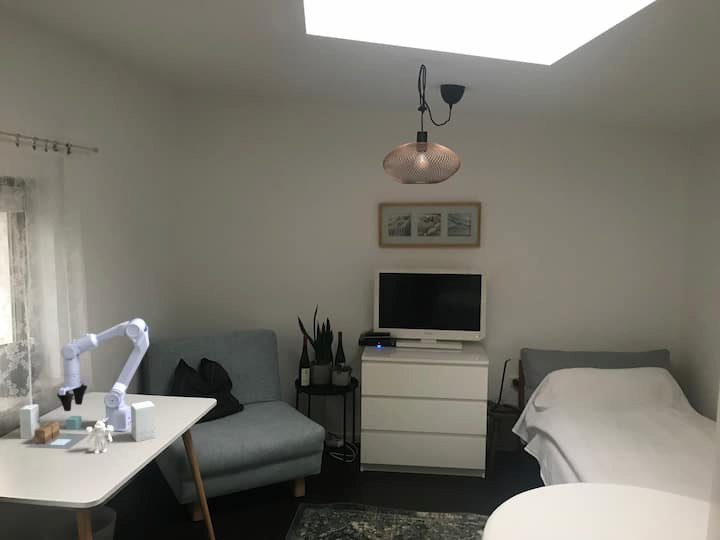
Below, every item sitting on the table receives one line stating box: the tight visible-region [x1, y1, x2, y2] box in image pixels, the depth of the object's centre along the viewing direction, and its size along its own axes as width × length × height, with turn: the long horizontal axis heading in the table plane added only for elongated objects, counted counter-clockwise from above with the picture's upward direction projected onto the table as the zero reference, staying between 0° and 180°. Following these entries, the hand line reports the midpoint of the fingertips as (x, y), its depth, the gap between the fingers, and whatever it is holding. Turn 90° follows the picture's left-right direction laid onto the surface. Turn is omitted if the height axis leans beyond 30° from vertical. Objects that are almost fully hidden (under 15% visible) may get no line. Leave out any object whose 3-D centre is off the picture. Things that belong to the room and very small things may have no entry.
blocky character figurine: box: [85, 417, 114, 454], centre depth 203 cm, size 9×4×12 cm, turn 107°
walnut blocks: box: [34, 421, 60, 444], centre depth 212 cm, size 4×8×5 cm, turn 176°
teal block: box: [65, 415, 83, 431], centre depth 224 cm, size 4×4×5 cm
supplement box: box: [130, 400, 157, 442], centre depth 217 cm, size 7×7×13 cm
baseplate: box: [26, 432, 90, 450], centre depth 211 cm, size 16×14×1 cm
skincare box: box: [18, 403, 41, 440], centre depth 215 cm, size 6×4×12 cm
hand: (73, 407), depth 223 cm, fingers open, 7 cm apart
